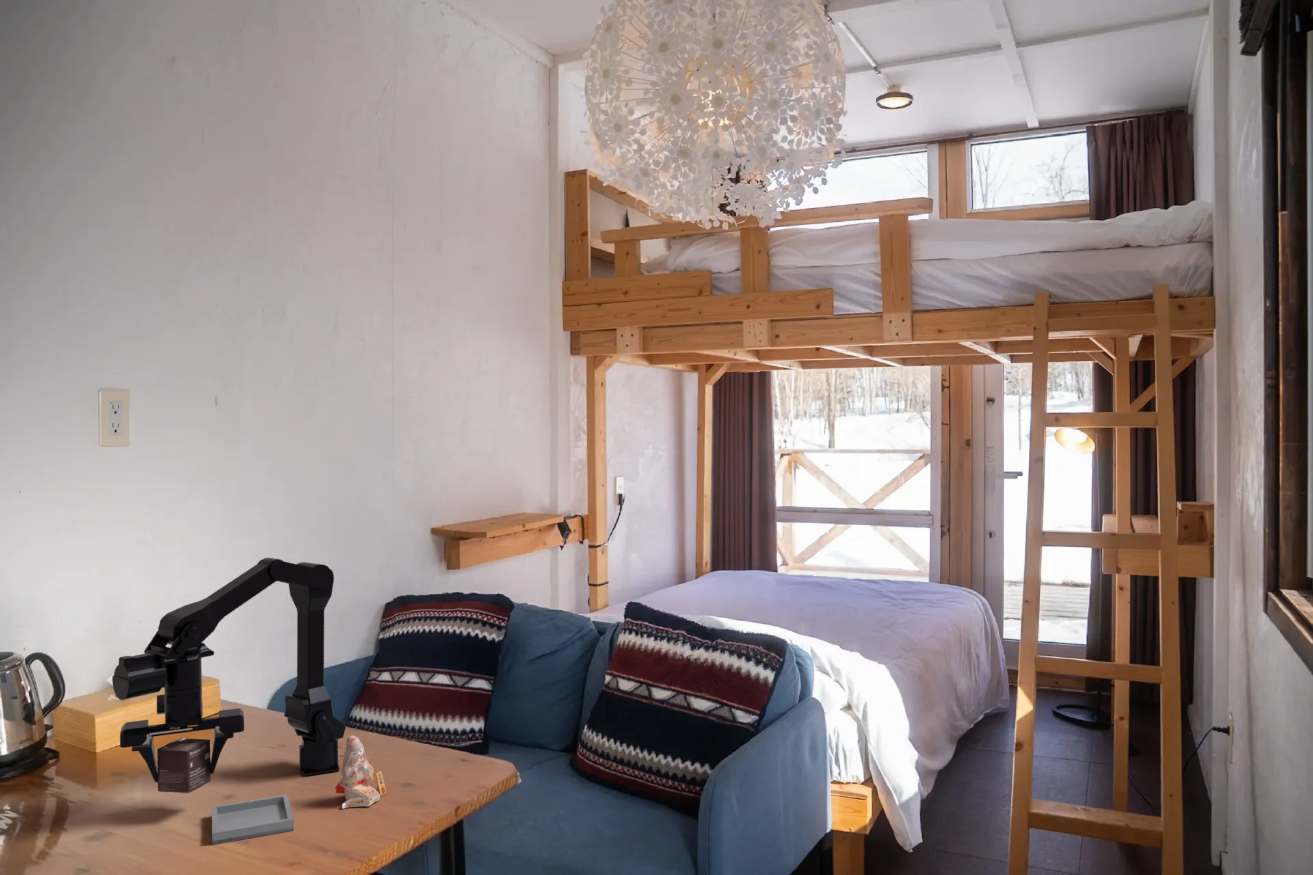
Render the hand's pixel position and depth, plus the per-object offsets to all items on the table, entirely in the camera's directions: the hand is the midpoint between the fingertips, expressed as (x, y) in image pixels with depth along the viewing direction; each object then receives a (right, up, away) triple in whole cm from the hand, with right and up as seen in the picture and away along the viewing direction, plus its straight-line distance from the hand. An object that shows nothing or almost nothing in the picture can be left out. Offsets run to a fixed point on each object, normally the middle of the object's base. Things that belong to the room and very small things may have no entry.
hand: (184, 777), depth 162 cm
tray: (+13, -6, -5) cm, 15 cm away
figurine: (+29, -6, +5) cm, 30 cm away
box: (0, -2, 0) cm, 2 cm away
